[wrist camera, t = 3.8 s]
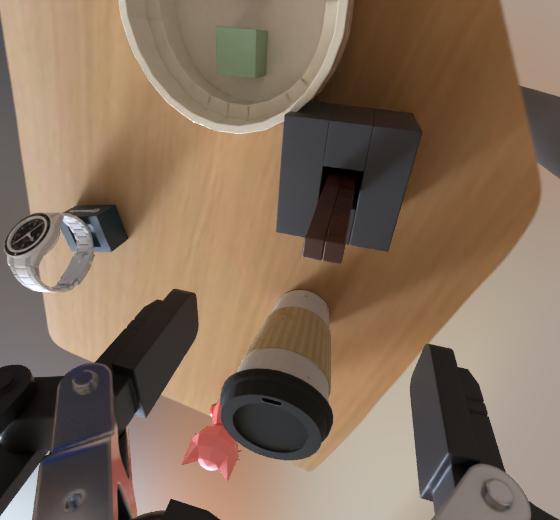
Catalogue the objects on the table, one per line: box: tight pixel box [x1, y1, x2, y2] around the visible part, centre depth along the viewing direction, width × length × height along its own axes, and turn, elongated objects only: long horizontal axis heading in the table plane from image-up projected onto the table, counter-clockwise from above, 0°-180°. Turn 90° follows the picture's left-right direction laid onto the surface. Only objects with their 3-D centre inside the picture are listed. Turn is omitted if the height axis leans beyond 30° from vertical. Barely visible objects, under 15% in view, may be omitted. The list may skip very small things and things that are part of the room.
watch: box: [4, 205, 128, 293], centre depth 36 cm, size 6×8×11 cm
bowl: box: [118, 0, 354, 134], centre depth 24 cm, size 15×15×6 cm
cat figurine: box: [182, 388, 239, 482], centre depth 46 cm, size 7×7×12 cm
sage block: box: [216, 26, 268, 78], centre depth 26 cm, size 3×3×3 cm
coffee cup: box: [220, 290, 333, 460], centre depth 34 cm, size 10×10×15 cm
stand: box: [276, 102, 422, 252], centre depth 27 cm, size 9×9×7 cm
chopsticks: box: [302, 167, 357, 264], centre depth 23 cm, size 2×1×16 cm, turn 86°
